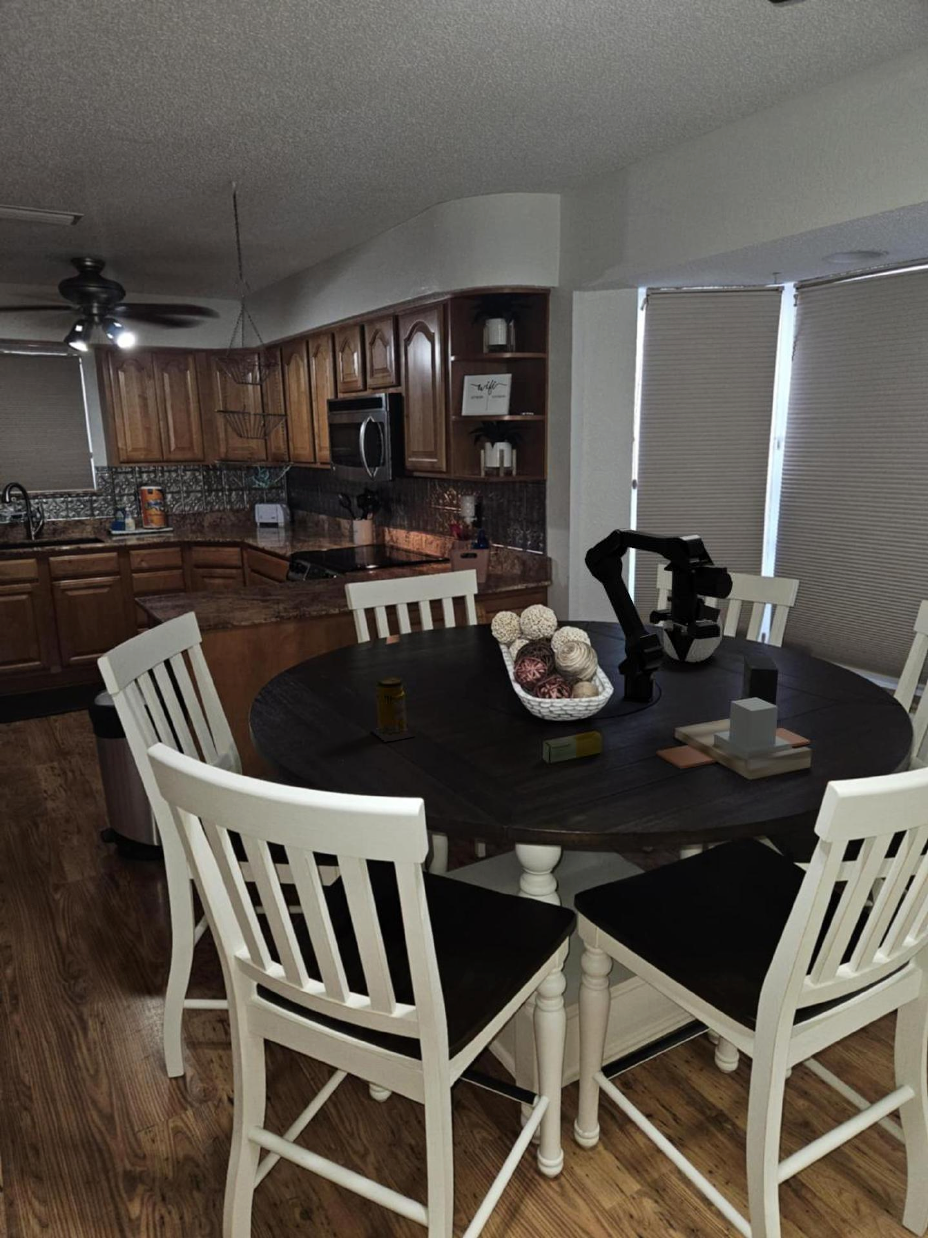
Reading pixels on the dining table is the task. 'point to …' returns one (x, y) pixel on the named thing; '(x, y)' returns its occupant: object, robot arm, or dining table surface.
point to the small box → (760, 679)
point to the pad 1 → (686, 756)
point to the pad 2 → (791, 737)
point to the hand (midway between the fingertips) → (682, 660)
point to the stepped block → (752, 730)
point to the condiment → (391, 706)
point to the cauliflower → (695, 645)
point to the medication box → (572, 747)
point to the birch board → (750, 767)
